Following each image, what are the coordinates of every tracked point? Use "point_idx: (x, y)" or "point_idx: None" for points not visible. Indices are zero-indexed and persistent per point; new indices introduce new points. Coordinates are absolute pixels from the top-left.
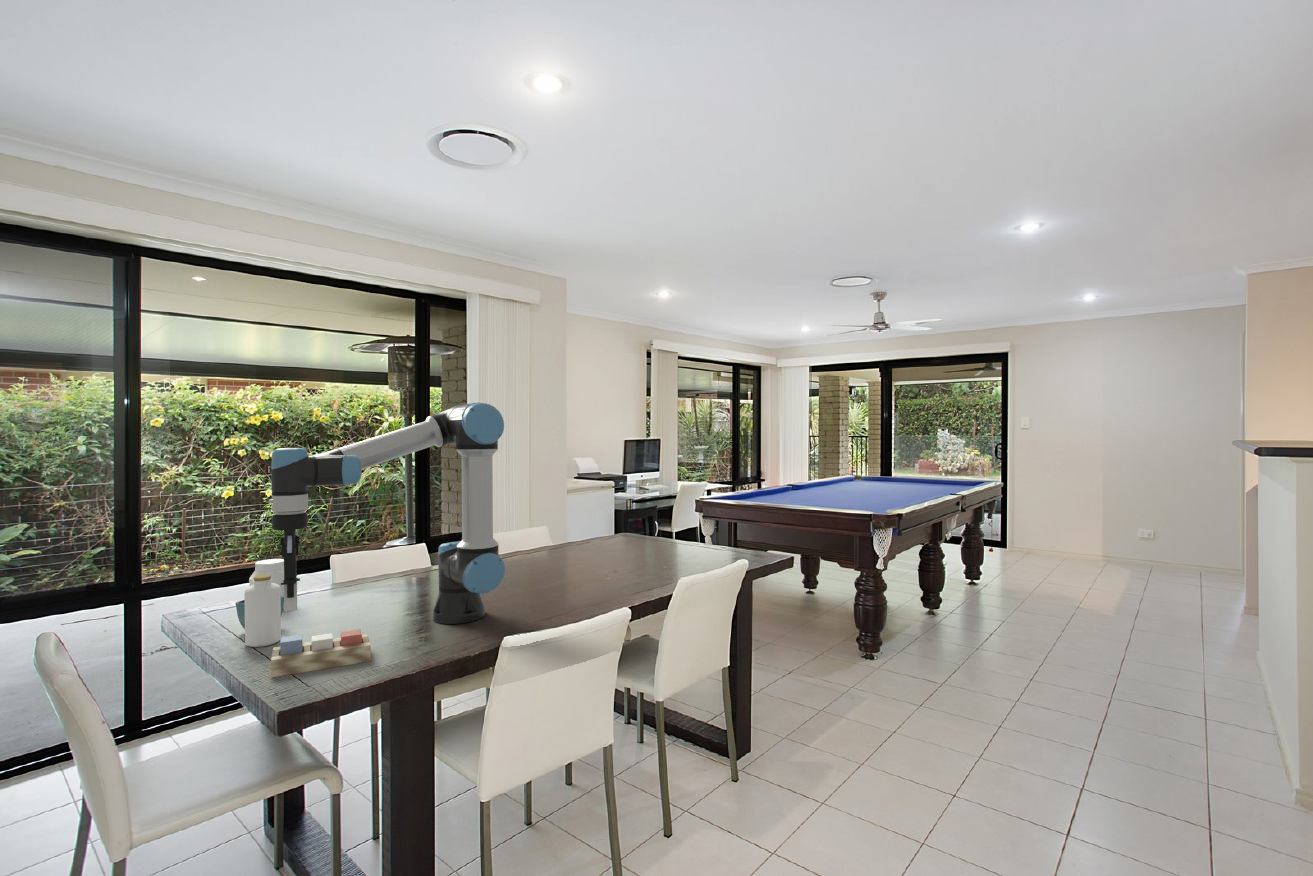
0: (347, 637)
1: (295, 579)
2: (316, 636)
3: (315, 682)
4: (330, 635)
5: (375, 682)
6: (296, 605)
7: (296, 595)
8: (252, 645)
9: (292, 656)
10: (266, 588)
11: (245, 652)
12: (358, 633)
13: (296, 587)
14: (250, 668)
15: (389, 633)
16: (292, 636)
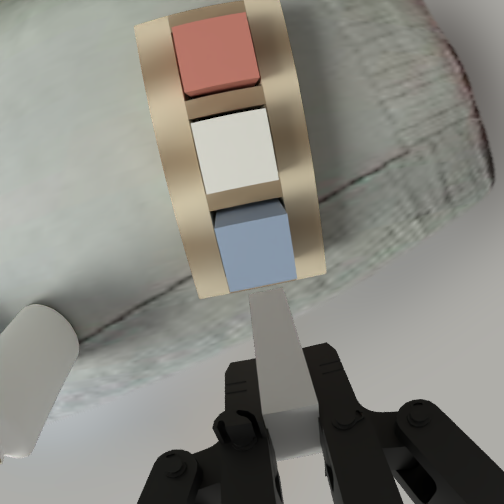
0: (255, 58)
1: (445, 415)
2: (217, 175)
3: (389, 140)
4: (221, 123)
5: (426, 16)
6: (287, 303)
7: (298, 340)
8: (78, 349)
9: (315, 222)
10: (2, 428)
11: (106, 352)
12: (230, 23)
13: (310, 380)
14: (223, 317)
15: (28, 28)
16: (232, 257)
